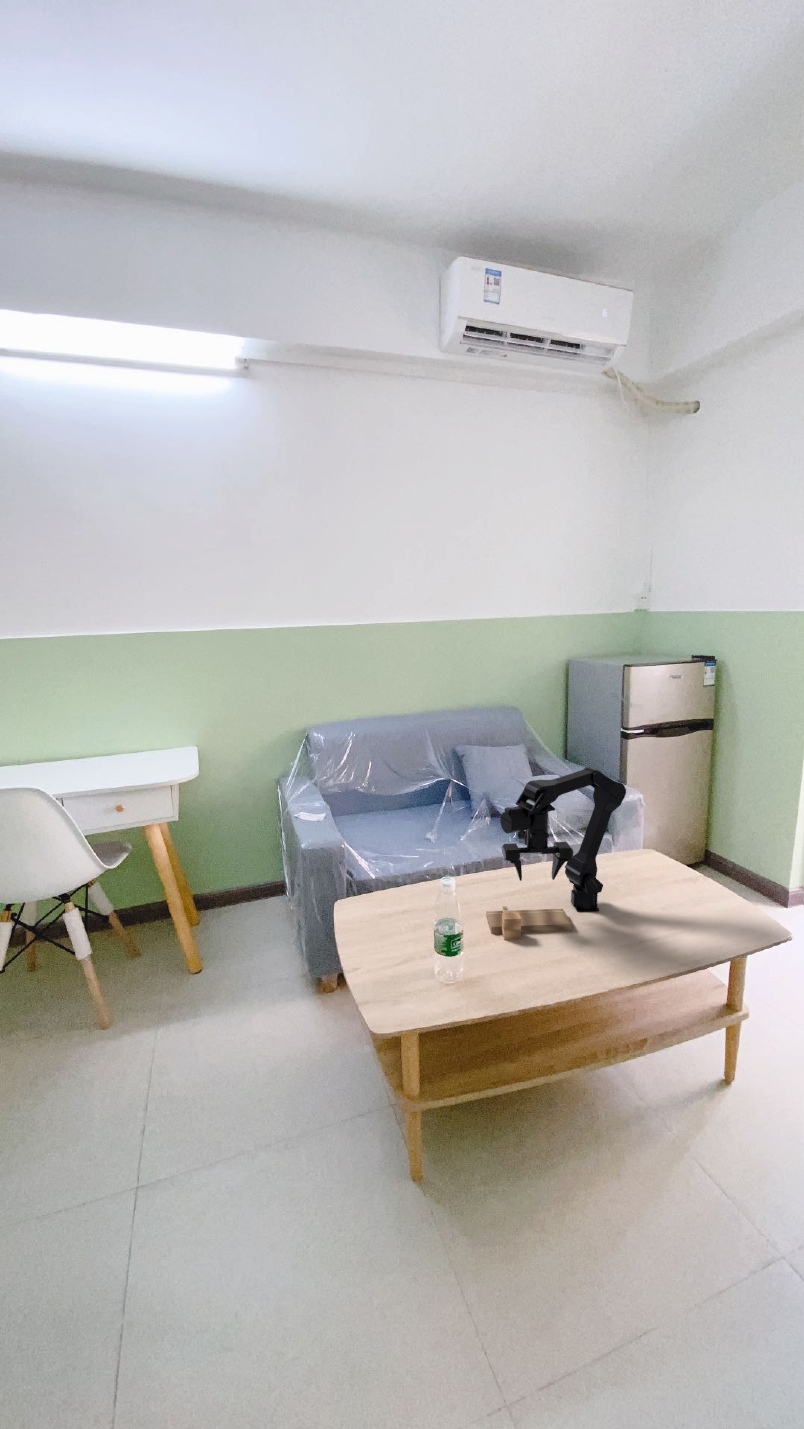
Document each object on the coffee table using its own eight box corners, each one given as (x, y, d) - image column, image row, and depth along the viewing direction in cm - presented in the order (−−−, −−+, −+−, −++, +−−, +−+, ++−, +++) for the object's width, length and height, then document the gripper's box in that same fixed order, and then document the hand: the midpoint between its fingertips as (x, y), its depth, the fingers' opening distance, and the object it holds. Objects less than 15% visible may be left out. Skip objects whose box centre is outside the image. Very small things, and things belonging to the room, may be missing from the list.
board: (562, 915, 156) (562, 908, 155) (571, 930, 148) (571, 923, 148) (486, 917, 156) (486, 911, 155) (491, 933, 148) (491, 926, 147)
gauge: (512, 917, 155) (512, 898, 154) (520, 939, 145) (521, 918, 144) (496, 918, 155) (496, 899, 154) (504, 939, 145) (504, 919, 144)
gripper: (562, 815, 158) (561, 865, 160) (498, 817, 157) (498, 867, 160) (574, 830, 147) (573, 883, 149) (506, 832, 146) (505, 886, 149)
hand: (536, 879), depth 152 cm, fingers open, 9 cm apart
